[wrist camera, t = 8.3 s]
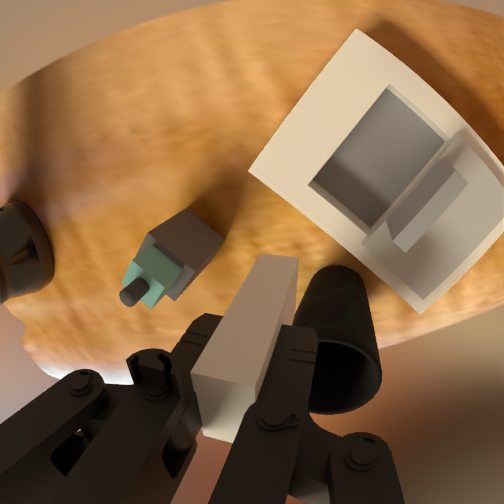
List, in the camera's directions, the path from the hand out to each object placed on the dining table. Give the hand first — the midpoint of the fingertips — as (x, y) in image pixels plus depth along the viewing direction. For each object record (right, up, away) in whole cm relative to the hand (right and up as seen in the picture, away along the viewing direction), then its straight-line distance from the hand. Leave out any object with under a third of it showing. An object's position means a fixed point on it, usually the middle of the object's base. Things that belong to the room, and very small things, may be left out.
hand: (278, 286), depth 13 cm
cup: (+7, -2, +17) cm, 19 cm away
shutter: (+13, +4, +8) cm, 16 cm away
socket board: (+11, +8, +11) cm, 18 cm away
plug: (-7, +3, +19) cm, 21 cm away
